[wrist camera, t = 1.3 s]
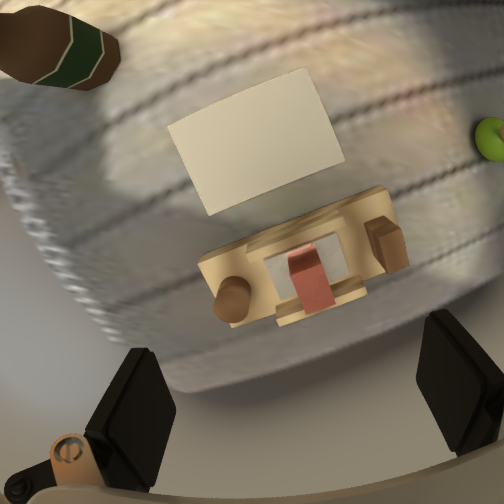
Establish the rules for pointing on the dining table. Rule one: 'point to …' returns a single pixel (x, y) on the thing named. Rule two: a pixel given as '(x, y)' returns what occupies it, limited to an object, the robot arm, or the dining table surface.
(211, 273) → the body
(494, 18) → the dining table surface
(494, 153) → the snail figurine
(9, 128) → the dining table surface
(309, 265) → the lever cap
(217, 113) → the mat
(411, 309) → the dining table surface
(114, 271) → the dining table surface
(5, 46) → the beer bottle
